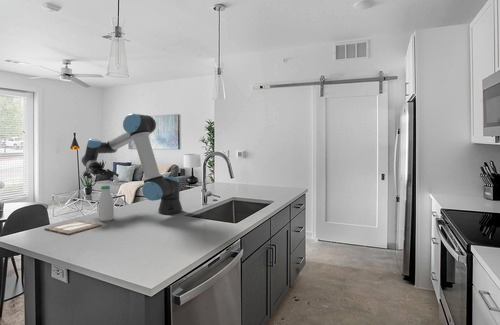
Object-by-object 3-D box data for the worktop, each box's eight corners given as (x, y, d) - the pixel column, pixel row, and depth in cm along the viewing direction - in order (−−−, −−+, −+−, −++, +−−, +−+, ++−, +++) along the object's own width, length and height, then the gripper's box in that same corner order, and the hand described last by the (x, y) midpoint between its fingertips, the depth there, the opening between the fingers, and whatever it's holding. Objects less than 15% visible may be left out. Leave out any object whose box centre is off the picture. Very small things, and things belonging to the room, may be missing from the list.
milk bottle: (116, 218, 174) (115, 185, 172) (105, 222, 167) (104, 187, 165) (107, 217, 177) (106, 184, 176) (96, 220, 170) (95, 186, 169)
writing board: (101, 225, 159) (101, 224, 159) (68, 235, 143) (68, 233, 143) (78, 221, 168) (78, 219, 168) (44, 229, 152) (44, 228, 152)
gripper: (112, 173, 198) (125, 186, 184) (71, 171, 179) (82, 185, 165) (115, 163, 196) (128, 175, 183) (74, 160, 178) (85, 173, 164)
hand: (106, 180), depth 174 cm, fingers open, 13 cm apart
